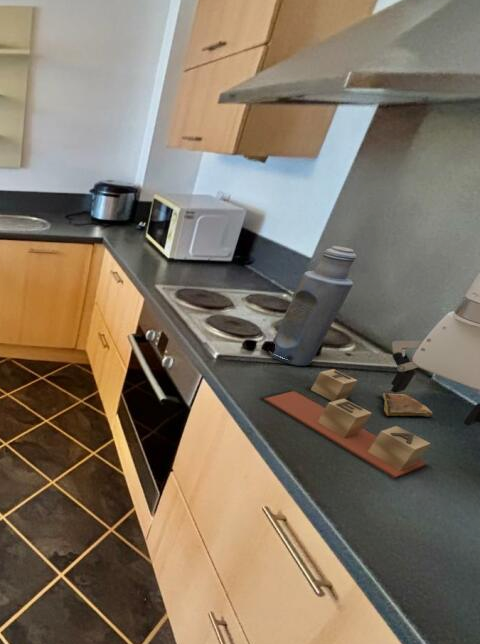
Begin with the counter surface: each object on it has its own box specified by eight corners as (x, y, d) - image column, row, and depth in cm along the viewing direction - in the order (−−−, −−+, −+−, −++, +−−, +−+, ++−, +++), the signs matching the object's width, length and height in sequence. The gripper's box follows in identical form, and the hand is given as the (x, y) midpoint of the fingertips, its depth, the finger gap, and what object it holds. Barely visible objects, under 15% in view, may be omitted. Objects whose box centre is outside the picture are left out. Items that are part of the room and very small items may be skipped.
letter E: (359, 433, 82) (372, 412, 80) (344, 438, 81) (357, 416, 78) (332, 417, 87) (344, 397, 84) (317, 422, 85) (328, 401, 82)
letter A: (415, 464, 75) (431, 442, 73) (399, 470, 73) (416, 448, 71) (382, 446, 79) (397, 424, 77) (367, 451, 77) (381, 430, 75)
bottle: (259, 349, 114) (307, 242, 101) (288, 348, 116) (338, 242, 103) (289, 367, 106) (346, 253, 92) (320, 365, 108) (379, 253, 94)
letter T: (346, 398, 95) (358, 379, 92) (333, 402, 93) (344, 383, 90) (323, 386, 99) (333, 368, 96) (310, 390, 97) (320, 371, 95)
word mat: (425, 465, 76) (426, 463, 76) (394, 478, 72) (396, 476, 72) (293, 392, 95) (293, 390, 95) (263, 399, 92) (264, 398, 92)
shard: (384, 417, 89) (389, 410, 88) (354, 396, 96) (358, 389, 95) (431, 418, 90) (436, 411, 89) (397, 397, 96) (402, 391, 96)
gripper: (594, 336, 57) (515, 433, 65) (433, 292, 71) (383, 376, 79) (571, 343, 55) (492, 443, 62) (408, 297, 69) (360, 383, 77)
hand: (431, 406), depth 71 cm, fingers open, 9 cm apart
